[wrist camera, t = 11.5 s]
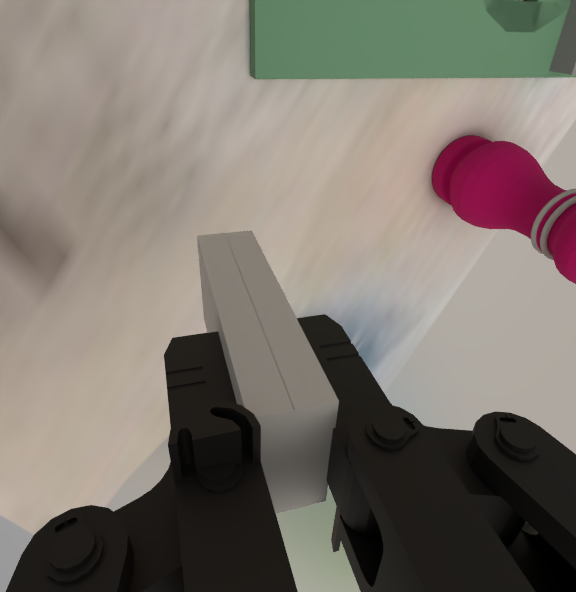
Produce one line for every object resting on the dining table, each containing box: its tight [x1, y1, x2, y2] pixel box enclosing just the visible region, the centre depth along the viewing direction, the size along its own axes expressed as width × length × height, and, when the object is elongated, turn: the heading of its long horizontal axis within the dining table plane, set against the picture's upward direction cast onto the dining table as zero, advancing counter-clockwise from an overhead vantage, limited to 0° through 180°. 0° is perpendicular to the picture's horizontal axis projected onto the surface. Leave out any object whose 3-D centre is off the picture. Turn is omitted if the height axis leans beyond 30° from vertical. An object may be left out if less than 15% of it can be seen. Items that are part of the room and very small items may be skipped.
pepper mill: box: [432, 135, 576, 284], centre depth 34 cm, size 7×7×20 cm
